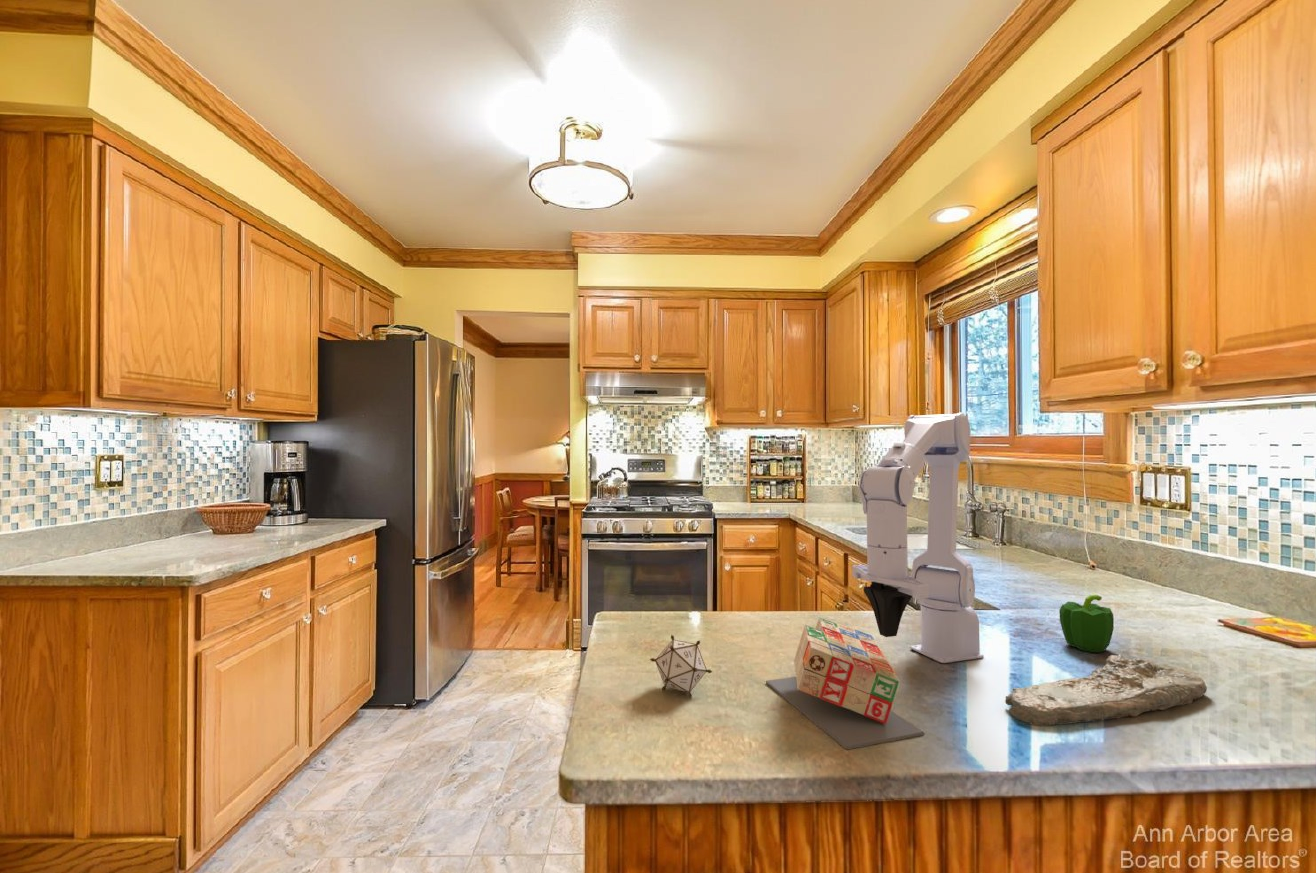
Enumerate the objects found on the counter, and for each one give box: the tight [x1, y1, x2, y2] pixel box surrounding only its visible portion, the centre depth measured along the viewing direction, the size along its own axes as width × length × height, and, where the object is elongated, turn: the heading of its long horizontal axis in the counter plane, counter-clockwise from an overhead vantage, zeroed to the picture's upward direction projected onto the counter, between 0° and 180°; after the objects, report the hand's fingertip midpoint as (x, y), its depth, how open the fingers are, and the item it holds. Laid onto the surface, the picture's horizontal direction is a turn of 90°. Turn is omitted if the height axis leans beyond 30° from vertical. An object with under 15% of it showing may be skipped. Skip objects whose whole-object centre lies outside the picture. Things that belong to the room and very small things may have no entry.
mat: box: [765, 676, 925, 751], centre depth 82 cm, size 12×21×1 cm, turn 17°
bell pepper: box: [1058, 594, 1115, 653], centre depth 105 cm, size 8×8×10 cm
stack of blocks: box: [793, 617, 900, 724], centre depth 87 cm, size 21×6×12 cm
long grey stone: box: [1004, 654, 1208, 727], centre depth 83 cm, size 35×5×10 cm
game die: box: [649, 634, 713, 699], centre depth 88 cm, size 9×8×10 cm
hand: (888, 635), depth 85 cm, fingers closed
